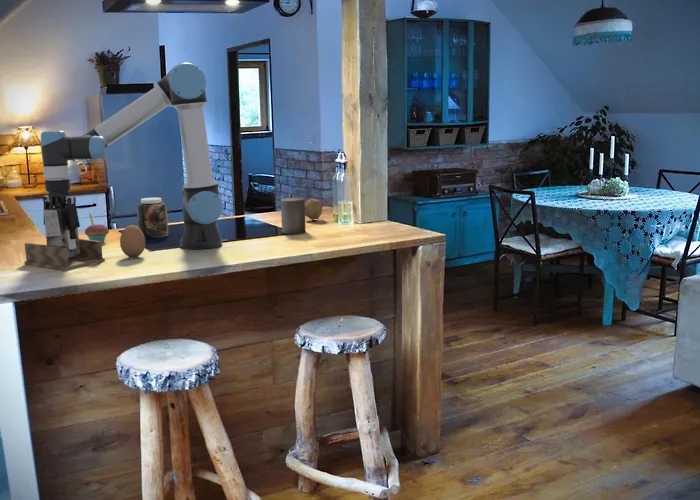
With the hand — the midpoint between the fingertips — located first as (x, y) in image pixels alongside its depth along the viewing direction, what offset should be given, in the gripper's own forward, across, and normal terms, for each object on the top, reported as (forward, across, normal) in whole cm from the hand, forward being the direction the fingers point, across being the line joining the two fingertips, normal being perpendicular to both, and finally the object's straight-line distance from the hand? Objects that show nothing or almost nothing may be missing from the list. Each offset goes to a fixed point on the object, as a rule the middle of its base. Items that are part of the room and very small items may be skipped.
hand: (63, 247), depth 234 cm
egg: (+5, -14, -17) cm, 23 cm away
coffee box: (+3, 0, 0) cm, 3 cm away
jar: (+5, +12, -51) cm, 53 cm away
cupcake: (+5, +20, -30) cm, 36 cm away
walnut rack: (+5, 0, 0) cm, 5 cm away
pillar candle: (+6, -34, -83) cm, 90 cm away
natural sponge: (+6, -24, -112) cm, 115 cm away
